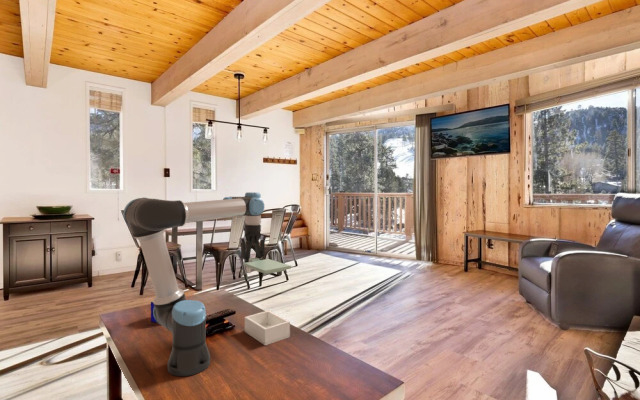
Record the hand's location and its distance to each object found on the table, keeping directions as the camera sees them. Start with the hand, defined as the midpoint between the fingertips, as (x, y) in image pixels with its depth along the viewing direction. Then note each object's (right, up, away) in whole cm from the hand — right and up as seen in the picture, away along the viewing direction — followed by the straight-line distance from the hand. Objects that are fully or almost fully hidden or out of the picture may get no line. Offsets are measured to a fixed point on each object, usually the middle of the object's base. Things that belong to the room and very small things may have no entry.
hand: (252, 271), depth 163 cm
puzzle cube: (-46, -26, +7) cm, 53 cm away
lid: (+6, +3, -7) cm, 10 cm away
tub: (+8, -27, -9) cm, 29 cm away
